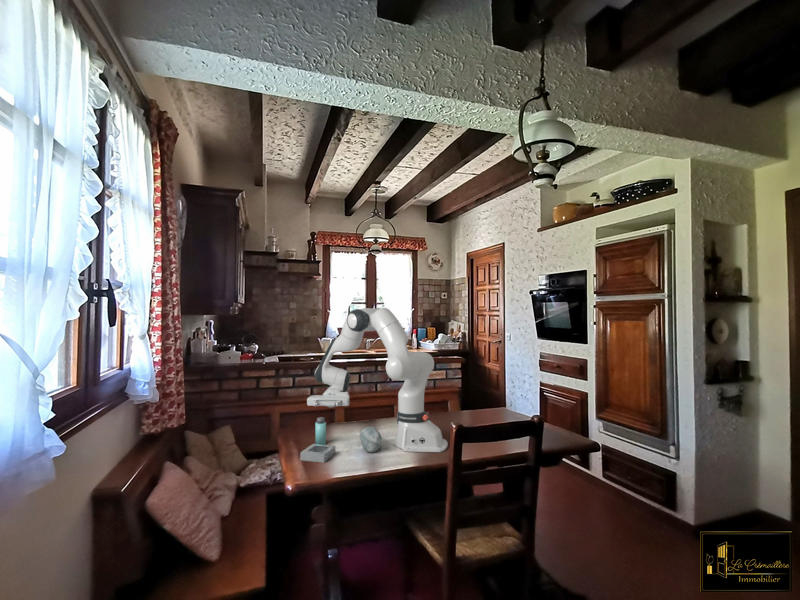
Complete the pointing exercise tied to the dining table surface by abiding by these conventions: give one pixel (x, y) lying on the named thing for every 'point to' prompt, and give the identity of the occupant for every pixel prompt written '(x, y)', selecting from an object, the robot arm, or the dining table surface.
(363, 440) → the spool
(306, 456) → the housing
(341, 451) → the dining table surface
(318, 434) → the bottle
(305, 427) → the dining table surface
